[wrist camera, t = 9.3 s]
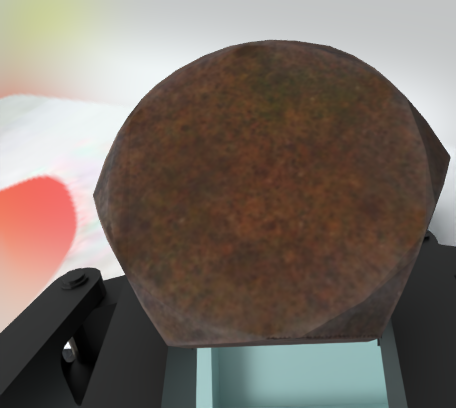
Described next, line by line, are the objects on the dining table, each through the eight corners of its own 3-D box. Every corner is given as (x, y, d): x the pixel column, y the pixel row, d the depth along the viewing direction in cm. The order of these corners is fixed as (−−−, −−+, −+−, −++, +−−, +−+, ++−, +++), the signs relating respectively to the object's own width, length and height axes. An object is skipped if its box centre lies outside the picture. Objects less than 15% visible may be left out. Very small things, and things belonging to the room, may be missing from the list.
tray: (390, 216, 27) (399, 201, 25) (436, 420, 22) (453, 428, 20) (204, 235, 30) (194, 223, 27) (207, 424, 25) (196, 432, 22)
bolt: (269, 234, 21) (207, -2, 7) (358, 274, 19) (491, 64, 6) (220, 331, 19) (26, 262, 6) (311, 383, 18) (340, 460, 4)
